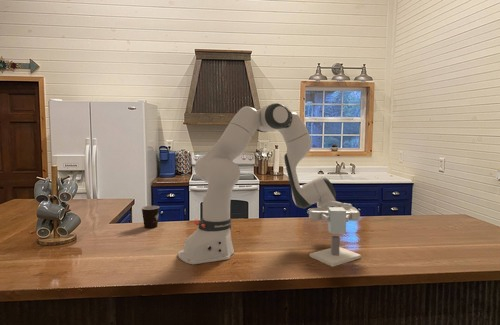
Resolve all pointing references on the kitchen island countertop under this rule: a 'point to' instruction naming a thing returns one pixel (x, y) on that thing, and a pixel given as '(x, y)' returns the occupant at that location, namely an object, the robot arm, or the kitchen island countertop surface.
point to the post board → (335, 259)
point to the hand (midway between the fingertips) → (337, 219)
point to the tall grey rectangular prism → (337, 220)
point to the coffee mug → (150, 216)
